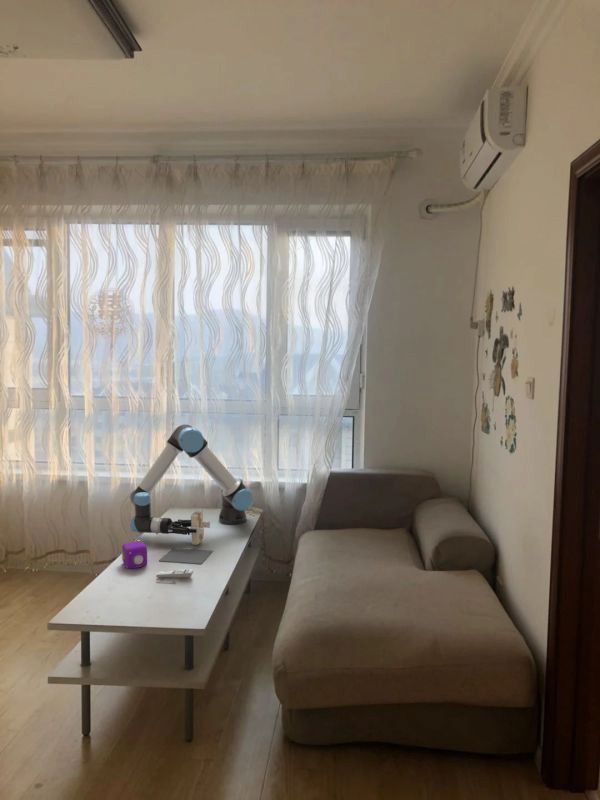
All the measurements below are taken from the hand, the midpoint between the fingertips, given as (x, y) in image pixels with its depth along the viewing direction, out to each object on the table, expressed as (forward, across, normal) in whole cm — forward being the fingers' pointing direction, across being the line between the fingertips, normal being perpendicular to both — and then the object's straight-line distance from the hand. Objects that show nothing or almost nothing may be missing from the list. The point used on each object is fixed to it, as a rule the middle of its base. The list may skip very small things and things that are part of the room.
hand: (206, 527), depth 280 cm
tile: (-5, 0, -7) cm, 9 cm away
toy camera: (-23, +29, -9) cm, 38 cm away
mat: (-5, +15, -9) cm, 18 cm away
